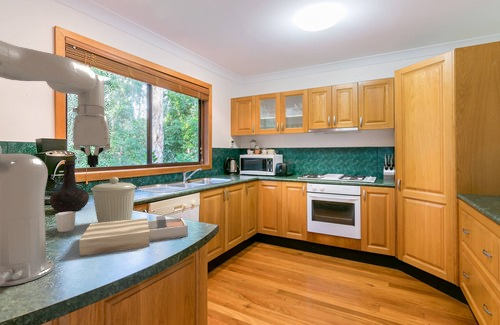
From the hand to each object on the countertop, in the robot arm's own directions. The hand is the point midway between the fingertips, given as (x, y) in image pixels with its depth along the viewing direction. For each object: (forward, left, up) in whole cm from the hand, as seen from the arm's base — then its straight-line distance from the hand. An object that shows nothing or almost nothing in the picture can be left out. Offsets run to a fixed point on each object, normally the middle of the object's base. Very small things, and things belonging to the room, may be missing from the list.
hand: (93, 167), depth 85 cm
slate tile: (+2, -20, -23) cm, 31 cm away
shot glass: (+27, +14, -27) cm, 41 cm away
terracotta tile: (+2, -27, -23) cm, 35 cm away
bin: (+4, -24, -27) cm, 36 cm away
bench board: (+2, -7, -27) cm, 28 cm away
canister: (+29, -4, -27) cm, 40 cm away
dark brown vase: (+69, +21, -27) cm, 77 cm away
